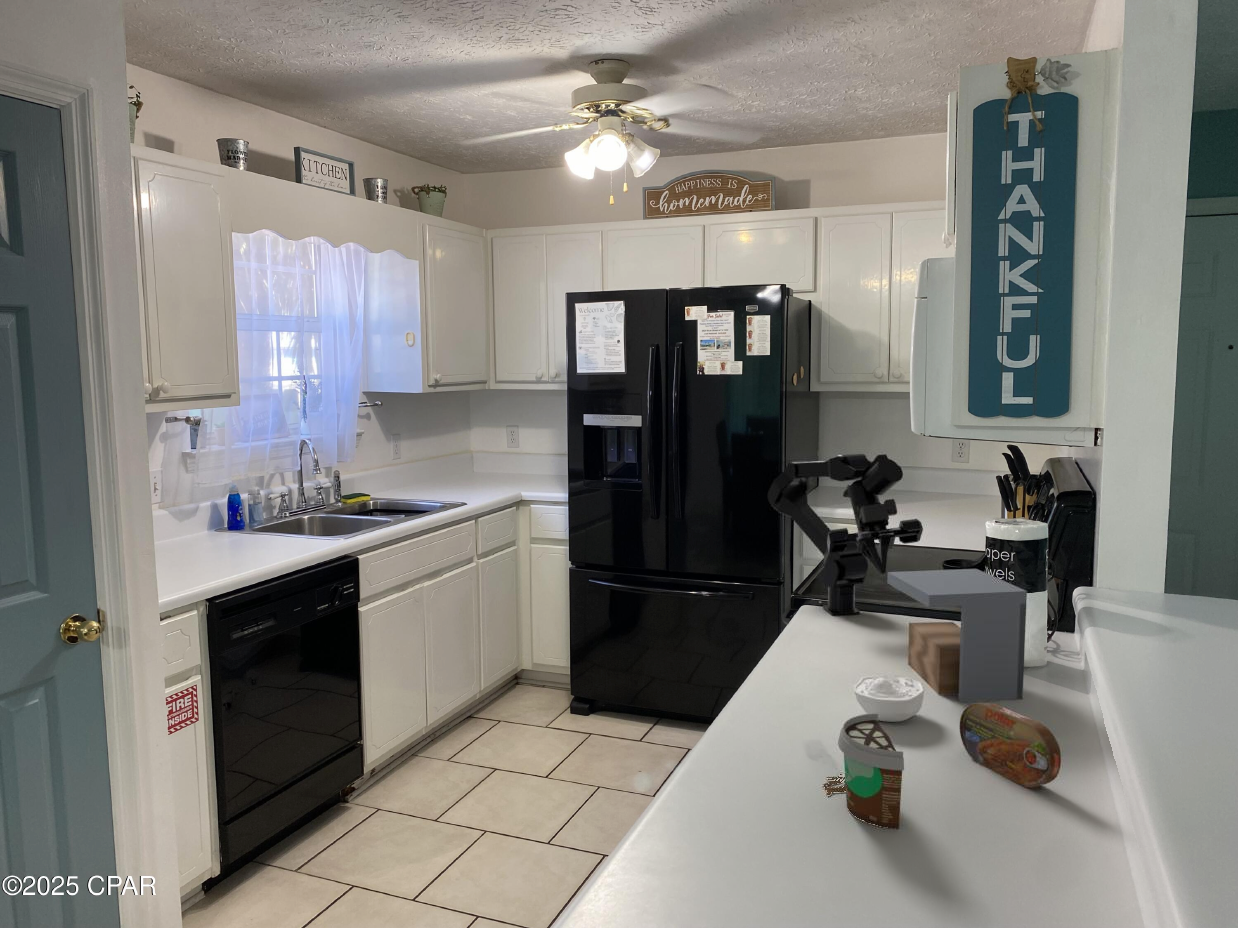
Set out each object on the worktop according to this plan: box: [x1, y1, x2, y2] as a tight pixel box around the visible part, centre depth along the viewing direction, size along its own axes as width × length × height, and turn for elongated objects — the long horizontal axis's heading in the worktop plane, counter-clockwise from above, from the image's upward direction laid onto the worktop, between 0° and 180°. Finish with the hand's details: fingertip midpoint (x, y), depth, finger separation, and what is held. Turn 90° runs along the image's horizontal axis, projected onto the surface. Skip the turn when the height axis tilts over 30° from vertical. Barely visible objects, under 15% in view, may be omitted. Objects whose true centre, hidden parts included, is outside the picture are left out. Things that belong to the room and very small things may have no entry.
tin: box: [959, 702, 1062, 789], centre depth 118 cm, size 15×3×8 cm, turn 23°
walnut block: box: [907, 621, 961, 696], centre depth 153 cm, size 15×8×8 cm, turn 1°
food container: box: [837, 713, 905, 830], centre depth 109 cm, size 12×6×10 cm, turn 178°
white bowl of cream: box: [853, 674, 925, 723], centre depth 137 cm, size 10×12×7 cm
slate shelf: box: [886, 568, 1028, 703], centre depth 150 cm, size 16×16×18 cm
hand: (883, 573), depth 177 cm, fingers closed
